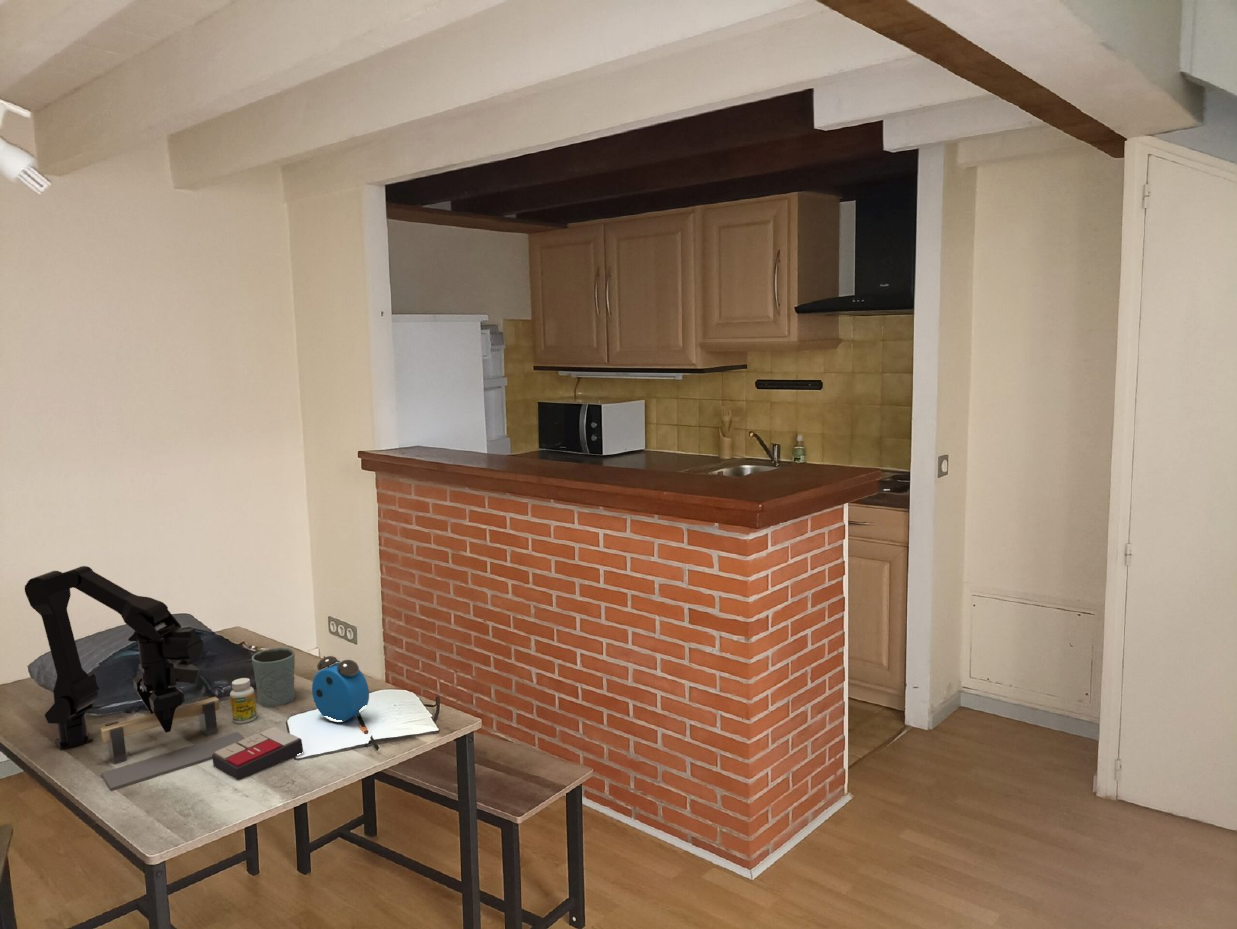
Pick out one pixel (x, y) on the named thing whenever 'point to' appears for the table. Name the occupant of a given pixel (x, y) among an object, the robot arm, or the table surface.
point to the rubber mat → (167, 762)
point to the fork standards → (117, 736)
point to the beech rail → (152, 721)
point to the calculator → (257, 753)
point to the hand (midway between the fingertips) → (162, 725)
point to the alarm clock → (339, 688)
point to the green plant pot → (274, 676)
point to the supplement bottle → (243, 701)
